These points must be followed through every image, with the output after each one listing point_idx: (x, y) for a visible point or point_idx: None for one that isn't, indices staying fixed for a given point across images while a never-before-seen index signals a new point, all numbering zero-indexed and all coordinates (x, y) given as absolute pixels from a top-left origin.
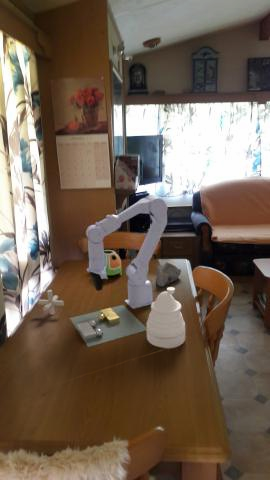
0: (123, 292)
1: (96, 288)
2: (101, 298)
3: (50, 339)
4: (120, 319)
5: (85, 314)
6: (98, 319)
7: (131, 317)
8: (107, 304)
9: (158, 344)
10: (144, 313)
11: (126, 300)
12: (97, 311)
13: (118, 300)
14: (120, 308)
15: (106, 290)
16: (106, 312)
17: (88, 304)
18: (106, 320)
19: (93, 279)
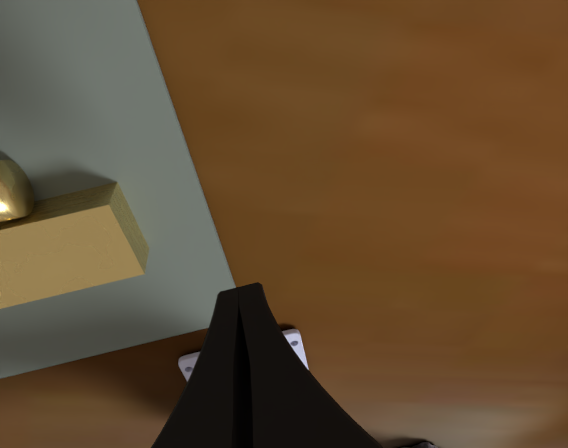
0: (423, 325)
1: (214, 314)
2: (414, 204)
3: None
4: None
5: (147, 49)
6: (30, 155)
7: (53, 347)
8: (298, 234)
9: None
10: (112, 394)
11: (291, 340)
12: (187, 160)
13: (329, 297)
14: (197, 304)
15: (516, 243)
16: (55, 243)
17: (360, 97)
18: None
19: (226, 423)
